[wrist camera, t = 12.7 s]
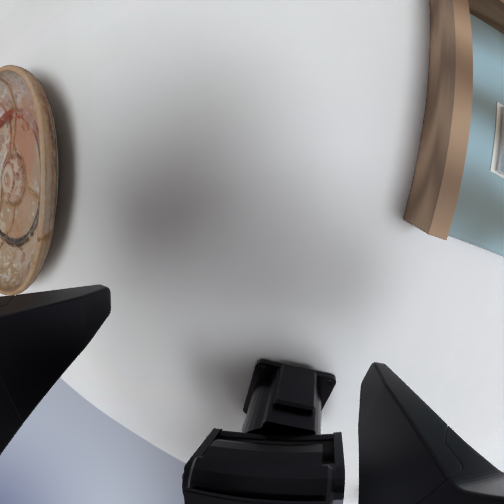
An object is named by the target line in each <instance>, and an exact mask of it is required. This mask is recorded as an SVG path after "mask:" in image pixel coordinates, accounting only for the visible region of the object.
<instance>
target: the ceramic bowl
mask: <svg viewBox="0 0 504 504" xmlns="http://www.w3.org/2000/svg"><path fill="white" fill-rule="evenodd" d="M57 194H58V149H57V137H56V130H55V123H54V118H53V114H52V110H51V106H50V104H49V101H48V98H47V96H46V93H45V91H44V89H43V88H42V86H41V84H40V83H39V81H38V80H37V79H36V78H35V77H34V76H33V75H32V74H31V73H30V72H29V71H27V70H25V69H23V68H21V67H18V66H14V65H6V66H3V67H1V68H0V293H1V294H4V295H16V294H19V293H22V292H23V291H24V290H26V289H27V288H28V287H29V286H30V285H31V284H32V283H33V282H34V281H35V279H36V278H37V276H38V275H39V273H40V271H41V269H42V267H43V264H44V262H45V259H46V257H47V254H48V251H49V247H50V243H51V239H52V235H53V230H54V223H55V213H56V206H57Z"/></svg>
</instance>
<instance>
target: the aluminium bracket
mask: <svg viewBox="0 0 504 504" xmlns="http://www.w3.org/2000/svg"><path fill="white" fill-rule="evenodd" d="M496 171H497V172H499V173H500V174H502V175H504V107H502V116H501V131H500V142H499V151H498V158H497V165H496Z"/></svg>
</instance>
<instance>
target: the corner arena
mask: <svg viewBox="0 0 504 504" xmlns="http://www.w3.org/2000/svg"><path fill="white" fill-rule="evenodd" d="M502 107H504V0H430V64H429V79H428V90H427V100H426V108H425V116H424V123H423V130H422V136H421V142H420V148H419V153H418V159H417V164H416V169H415V173H414V178H413V183H412V187H411V191H410V195H409V199H408V203H407V207H406V211H405V215H404V219H403V220H405V221H407V222H408V223H410V224H412V225H414V226H415V227H417V228H419V229H420V230H422V231H424V232H425V233H427V234H429V235H432V236H435V237H438V238H441V239H444V240H447V237H448V235H449V236H452V237H455V238H458V239H460V240H463V241H466V242H469V243H471V244H474V245H477V246H479V247H482V248H484V249H487V250H490V251H492V252H495V253H497V254H500V255H502V256H504V175H502V174H500V173H499V172H497V171H496V165H497V158H498V151H499V142H500V131H501V116H502Z"/></svg>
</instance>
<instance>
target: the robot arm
mask: <svg viewBox="0 0 504 504" xmlns="http://www.w3.org/2000/svg"><path fill="white" fill-rule="evenodd" d="M110 311H111V295H110V289H109V288H108V287H105V286H103V285H91V286H84V287H76V288H68V289H60V290H52V291H44V292H36V293H28V294H20V295H16V296H15V295H11V296H2V297H0V455H1V453H2V452H3V450H4V449H5V447H6V446H7V445H8V443H9V442H10V441H11V439H12V438H13V437H14V435H15V434H16V432H17V431H18V430H19V428H20V427H21V426H22V424H23V423H24V421H25V420H26V419H27V418H28V416H29V415H30V414H31V412H32V411H33V410H34V409H35V407H36V406H37V405H38V404H39V402H40V401H41V400H42V398H43V397H44V396H45V395H46V393H47V392H48V391H49V390H50V389H51V387H52V386H53V385H54V384H55V383H56V381H57V380H58V379H59V378H60V376H61V375H62V374H63V373H64V372H65V371H66V369H67V368H68V367H69V366H70V365H71V363H72V362H73V361H74V360H75V359H76V358H77V356H78V355H79V354H80V353H81V352H82V351H83V350H84V348H85V347H86V346H87V345H88V344H89V342H90V341H91V340H92V338H93V337H94V335H95V334H96V332H97V331H98V330H99V328H100V327H101V325H102V324H103V323H104V321H105V320H106V319H107V317H108V316H109V314H110ZM260 365H264V367H262V366H260ZM328 380H331V381H330V382H328ZM335 384H336V378H335V376H333V375H330V374H325V373H320V372H315V371H310V370H306V369H301V368H297V367H293V366H288V365H284V364H280V363H276V362H272V361H268V360H264V359H261V360H258V361H257V363H256V366H255V370H254V373H253V377H252V380H251V384H250V387H249V391H248V394H247V398H246V401H245V405H244V408H243V411H244V412H245V413H246V418H245V421H244V424H243V428H242V431H241V432H232V431H222V429H216V428H214V429H213V430H212V431H211V433H210V434H209V435H208V437H207V438H206V439H205V440H204V442H203V443H202V444H201V446H200V447H199V448H198V449H197V451H196V452H195V453H194V454H193V456H192V457H191V458H190V460H189V461H188V462H187V463H186V465H185V467H184V473H183V476H182V479H183V483H182V489H183V495H184V500H185V504H343V498H344V487H345V466H344V454H343V444H342V434H341V432H335V433H333V434H321V411H322V409H323V407H324V405H325V403H326V401H327V399H328V397H329V396H330V394H331V392H332V390H333V388H334V386H335ZM358 436H359V502H358V504H504V473H503V472H501V471H500V470H498V469H497V468H496V467H495V466H493V465H492V464H491V463H490V462H488V461H487V460H486V459H485V458H484V457H482V456H481V455H480V454H479V453H478V452H476V451H475V450H474V449H473V448H472V447H471V446H469V445H468V444H467V443H466V442H465V441H464V440H463V439H462V438H461V437H460V436H458V435H457V434H456V433H455V432H454V431H453V430H452V429H451V428H450V427H449V426H448V427H447V424H446V423H445V422H444V421H443V420H442V419H441V418H440V417H439V416H438V415H437V414H436V413H435V412H434V411H433V410H432V409H431V408H430V407H429V406H428V405H427V404H426V403H425V402H424V401H423V400H422V399H421V398H420V397H419V396H418V395H417V394H415V393H414V392H413V391H412V390H411V389H410V388H409V387H408V386H407V385H406V384H405V383H404V382H403V381H402V380H401V379H400V378H399V377H398V376H397V375H396V374H395V373H394V372H393V371H392V370H391V369H390V368H389V367H388V366H387V365H385V364H383V363H377V362H374V363H372V364H371V366H370V368H369V370H368V372H367V374H366V375H365V377H364V379H363V381H362V384H361V391H360V408H359V423H358Z"/></svg>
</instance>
